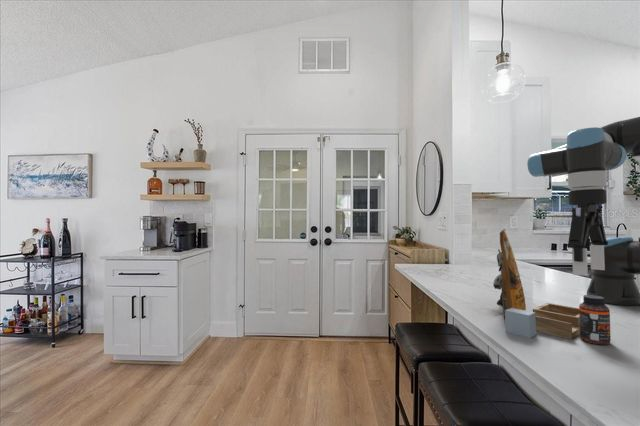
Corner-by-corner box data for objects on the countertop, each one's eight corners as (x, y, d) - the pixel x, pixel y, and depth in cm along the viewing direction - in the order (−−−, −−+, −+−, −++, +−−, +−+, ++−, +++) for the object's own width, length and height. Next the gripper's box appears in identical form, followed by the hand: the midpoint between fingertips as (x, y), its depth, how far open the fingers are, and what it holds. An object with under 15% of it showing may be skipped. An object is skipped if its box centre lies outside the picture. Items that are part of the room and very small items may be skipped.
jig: (545, 315, 103) (545, 302, 103) (593, 324, 93) (592, 310, 93) (520, 327, 92) (520, 313, 92) (571, 339, 82) (571, 323, 82)
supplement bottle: (602, 347, 77) (600, 300, 77) (574, 339, 82) (573, 295, 83) (616, 343, 79) (614, 297, 80) (588, 335, 85) (586, 292, 85)
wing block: (512, 328, 91) (511, 307, 91) (536, 334, 86) (535, 312, 86) (505, 332, 89) (505, 310, 89) (529, 338, 84) (529, 315, 84)
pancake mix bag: (494, 320, 98) (491, 230, 99) (505, 306, 113) (503, 227, 114) (520, 325, 94) (517, 230, 95) (528, 309, 109) (525, 227, 109)
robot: (506, 310, 108) (504, 251, 109) (490, 308, 112) (488, 250, 112) (519, 299, 123) (517, 247, 123) (504, 297, 126) (503, 246, 127)
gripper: (584, 192, 92) (587, 266, 92) (550, 188, 78) (553, 275, 78) (619, 190, 86) (622, 269, 86) (589, 185, 72) (592, 279, 71)
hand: (589, 272), depth 82 cm, fingers open, 13 cm apart
